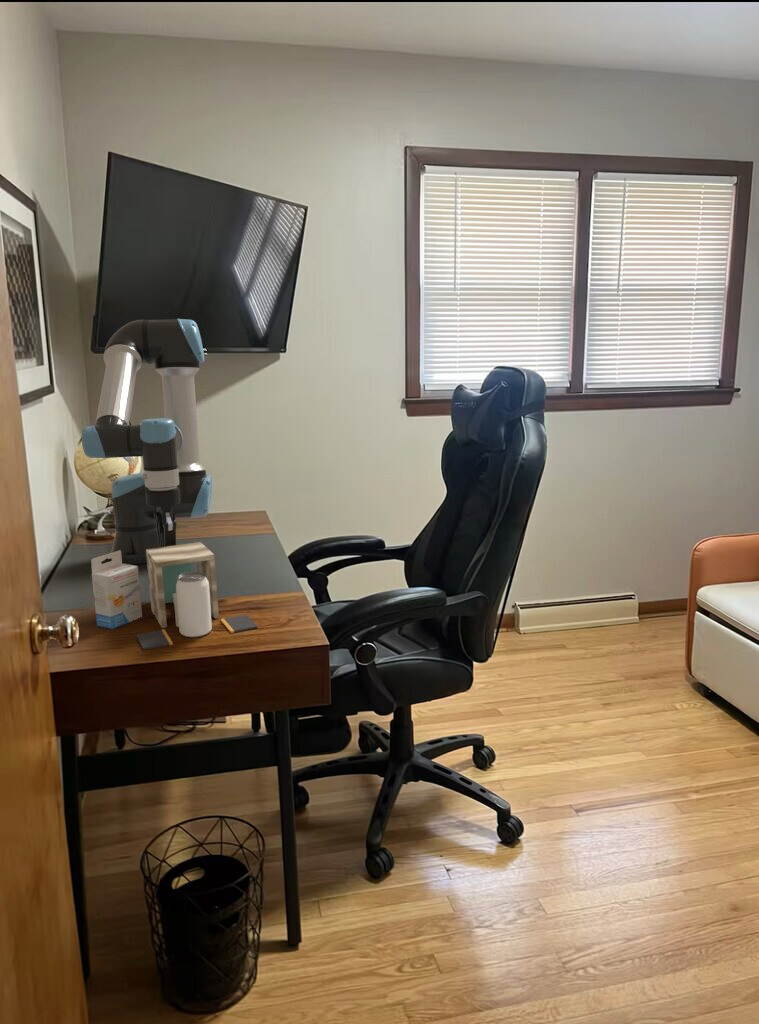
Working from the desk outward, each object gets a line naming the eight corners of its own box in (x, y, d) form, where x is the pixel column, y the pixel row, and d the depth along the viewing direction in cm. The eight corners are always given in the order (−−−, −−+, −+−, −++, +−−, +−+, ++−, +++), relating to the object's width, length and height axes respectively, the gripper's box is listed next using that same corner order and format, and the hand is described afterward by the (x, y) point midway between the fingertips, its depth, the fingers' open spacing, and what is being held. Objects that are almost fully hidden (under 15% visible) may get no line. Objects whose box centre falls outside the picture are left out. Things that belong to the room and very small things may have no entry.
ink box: (113, 630, 156) (105, 562, 152) (96, 626, 158) (88, 559, 155) (143, 616, 163) (137, 551, 160) (127, 613, 165) (120, 549, 162)
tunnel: (151, 610, 166) (145, 549, 163) (205, 601, 172) (200, 541, 168) (162, 628, 156) (156, 562, 153) (218, 617, 161) (214, 554, 158)
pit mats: (136, 636, 152) (136, 634, 152) (246, 616, 162) (246, 614, 162) (143, 650, 145) (143, 648, 145) (257, 628, 155) (257, 626, 155)
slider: (157, 601, 171) (153, 564, 169) (192, 596, 174) (189, 559, 172) (174, 628, 154) (170, 587, 152) (212, 621, 158) (209, 580, 156)
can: (192, 622, 157) (188, 569, 154) (218, 628, 155) (214, 573, 152) (172, 634, 152) (168, 579, 149) (198, 640, 149) (195, 584, 146)
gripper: (140, 484, 173) (148, 581, 178) (150, 493, 162) (159, 597, 167) (173, 481, 177) (180, 577, 182) (185, 490, 165) (192, 591, 171)
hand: (170, 586), depth 174 cm, fingers closed
